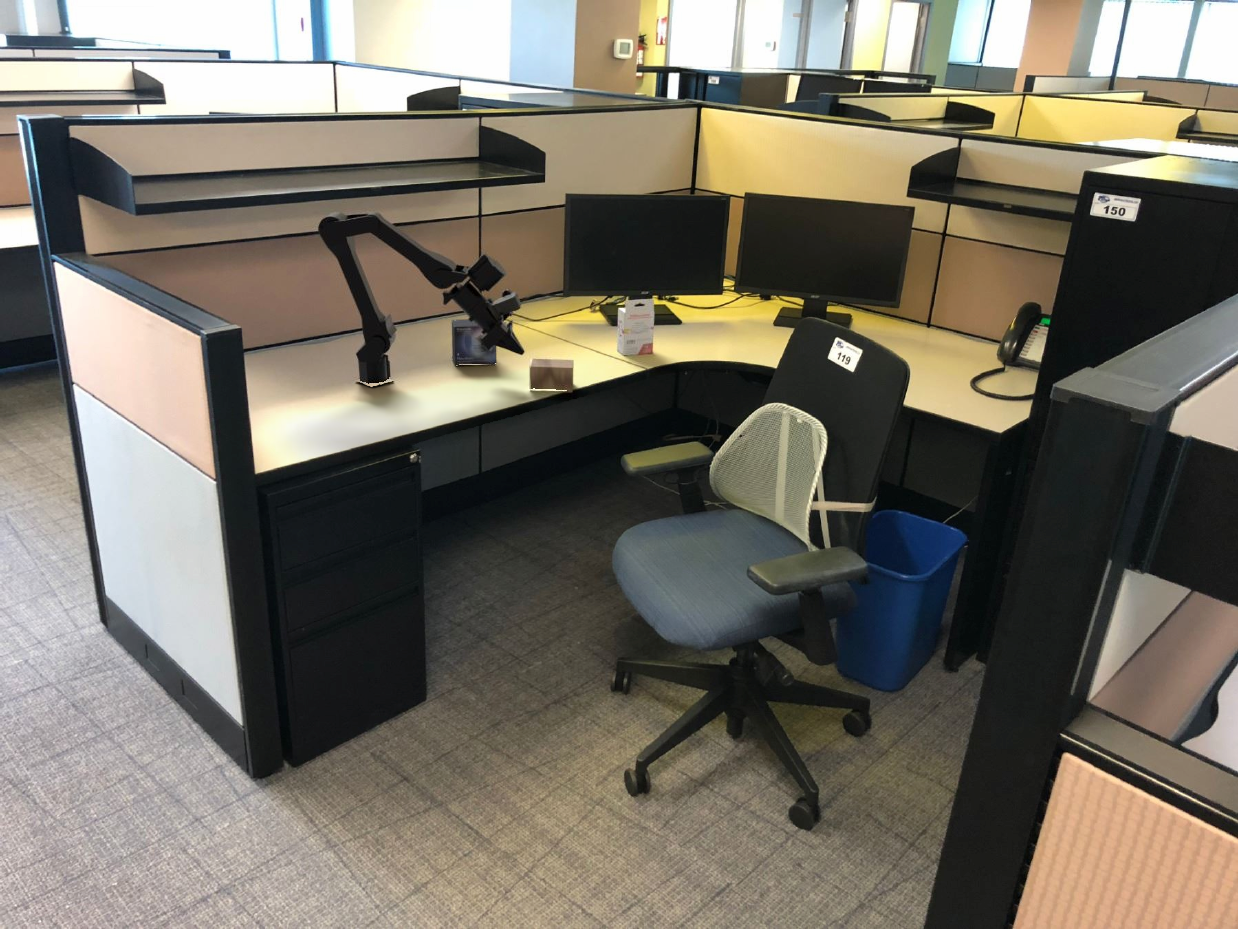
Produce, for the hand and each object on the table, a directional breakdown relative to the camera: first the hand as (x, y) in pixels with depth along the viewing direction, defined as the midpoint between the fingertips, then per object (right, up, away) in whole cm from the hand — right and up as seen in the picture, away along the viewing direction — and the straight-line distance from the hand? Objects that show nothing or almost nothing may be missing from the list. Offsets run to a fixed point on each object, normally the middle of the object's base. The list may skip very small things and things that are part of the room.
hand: (523, 353), depth 223 cm
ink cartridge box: (+26, +4, +32) cm, 41 cm away
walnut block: (+1, -5, +2) cm, 5 cm away
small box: (-14, 0, +19) cm, 23 cm away
